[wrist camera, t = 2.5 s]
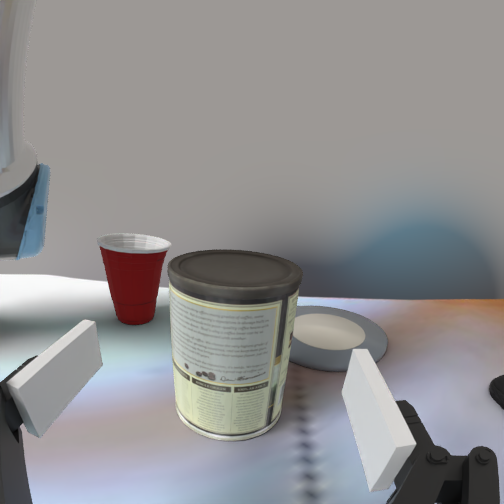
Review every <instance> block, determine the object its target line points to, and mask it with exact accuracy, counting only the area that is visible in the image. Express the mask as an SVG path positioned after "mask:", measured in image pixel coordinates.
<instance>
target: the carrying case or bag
mask: <svg viewBox="0 0 504 504" xmlns="http://www.w3.org/2000/svg"><path fill="white" fill-rule="evenodd" d="M490 393H491V396H492V398H493V399H494V400H495V401H496V402H497V403H498V404H499V405H500V406H501V407H502V408H503V409H504V375H502V376H499V377H498V378H495V379H493V380H492V381H491V383H490Z"/></svg>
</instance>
